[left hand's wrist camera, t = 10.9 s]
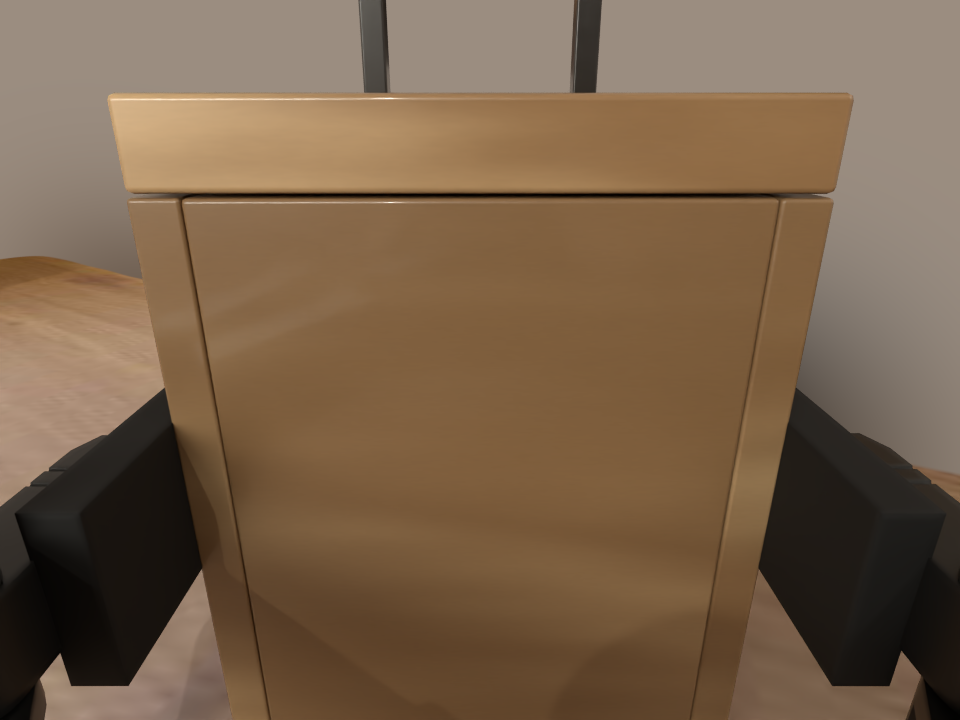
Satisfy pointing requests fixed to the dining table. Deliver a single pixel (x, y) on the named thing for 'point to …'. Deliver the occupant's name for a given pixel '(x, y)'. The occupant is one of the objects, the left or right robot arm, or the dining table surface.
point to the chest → (480, 441)
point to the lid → (480, 136)
